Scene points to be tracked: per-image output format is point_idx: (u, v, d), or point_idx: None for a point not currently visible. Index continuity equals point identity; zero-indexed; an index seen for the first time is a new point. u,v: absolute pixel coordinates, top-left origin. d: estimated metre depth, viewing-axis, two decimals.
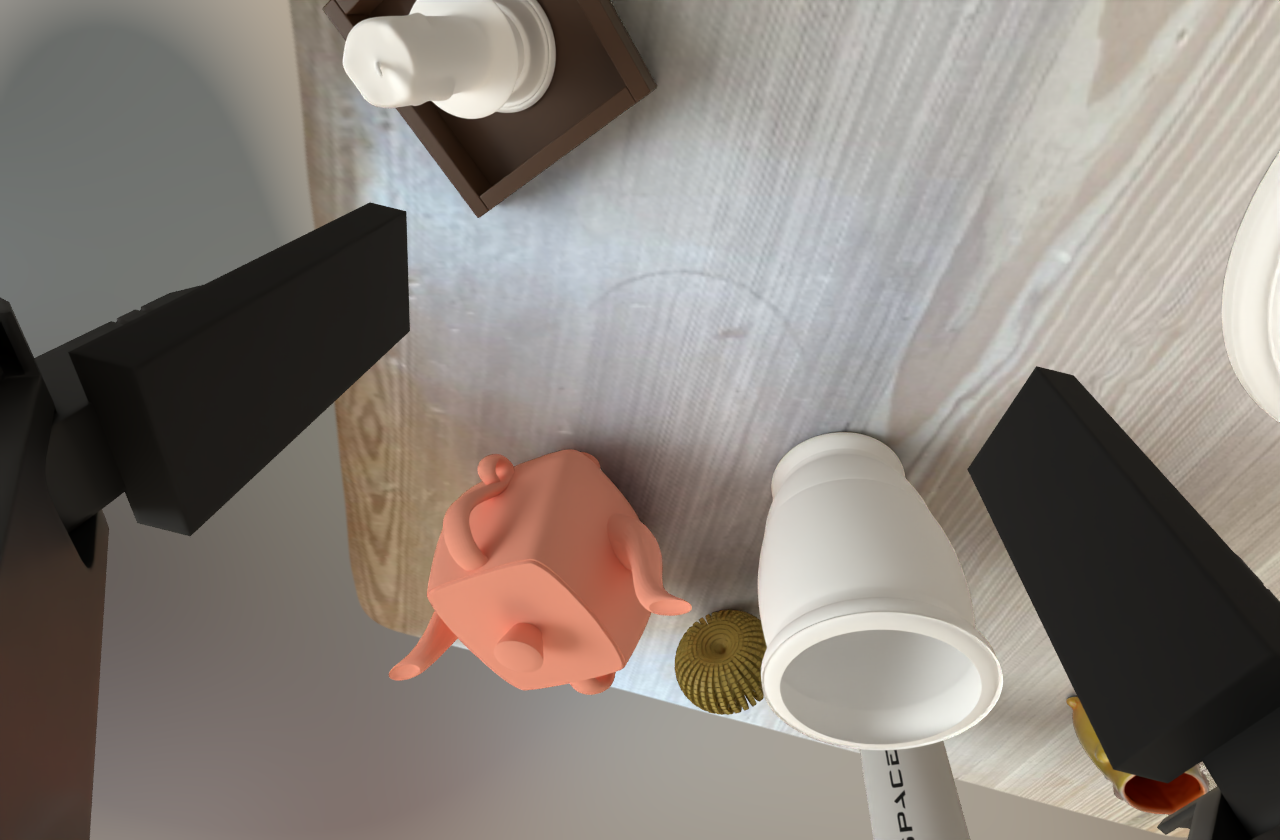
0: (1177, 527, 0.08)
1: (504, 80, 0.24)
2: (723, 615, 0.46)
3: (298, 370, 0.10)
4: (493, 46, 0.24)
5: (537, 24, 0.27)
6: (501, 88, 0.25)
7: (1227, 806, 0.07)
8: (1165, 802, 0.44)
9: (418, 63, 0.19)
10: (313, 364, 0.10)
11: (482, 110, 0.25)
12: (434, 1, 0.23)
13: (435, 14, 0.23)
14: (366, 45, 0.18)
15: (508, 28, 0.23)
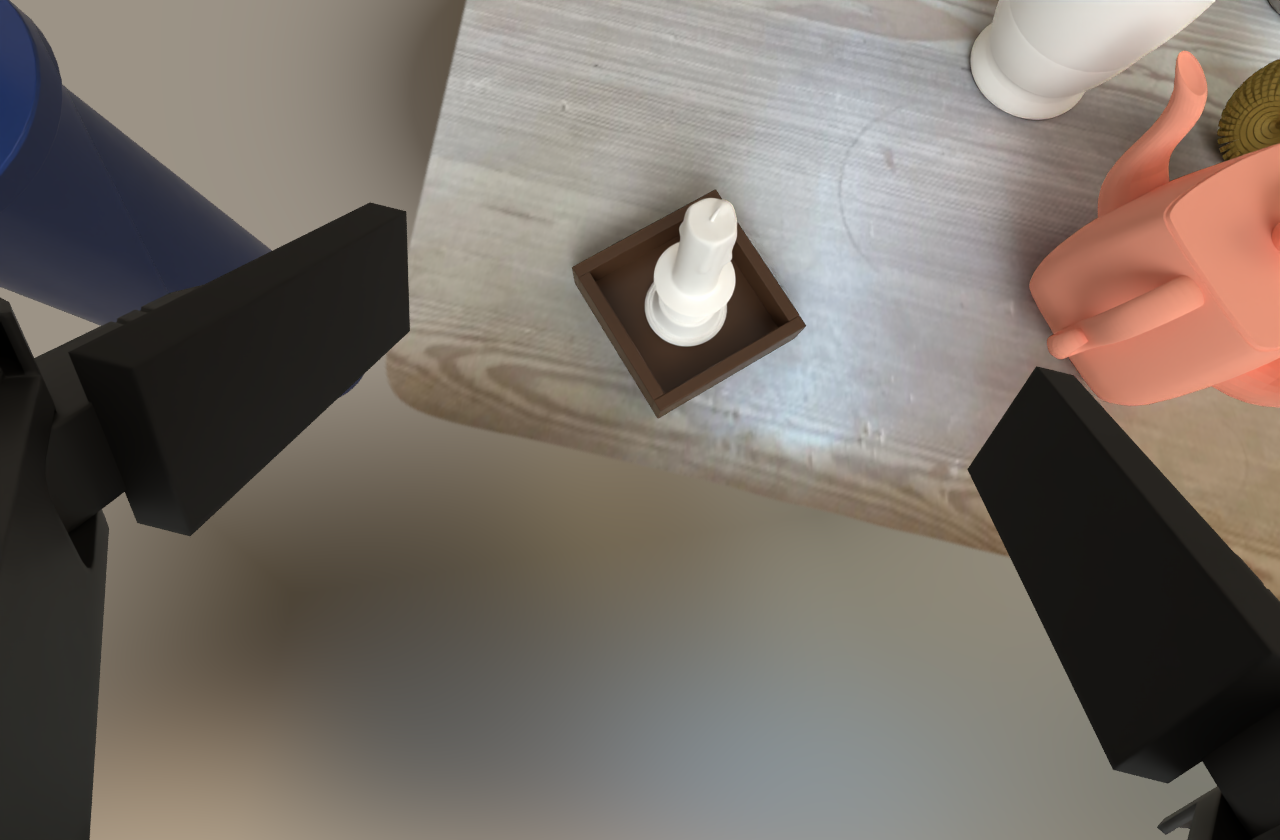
0: (1177, 527, 0.08)
1: None
2: (1227, 147, 0.41)
3: (297, 369, 0.10)
4: None
5: None
6: None
7: (1227, 806, 0.07)
8: None
9: (711, 198, 0.28)
10: (313, 364, 0.10)
11: (730, 269, 0.35)
12: (663, 288, 0.34)
13: (671, 288, 0.34)
14: (701, 225, 0.28)
15: (680, 242, 0.35)
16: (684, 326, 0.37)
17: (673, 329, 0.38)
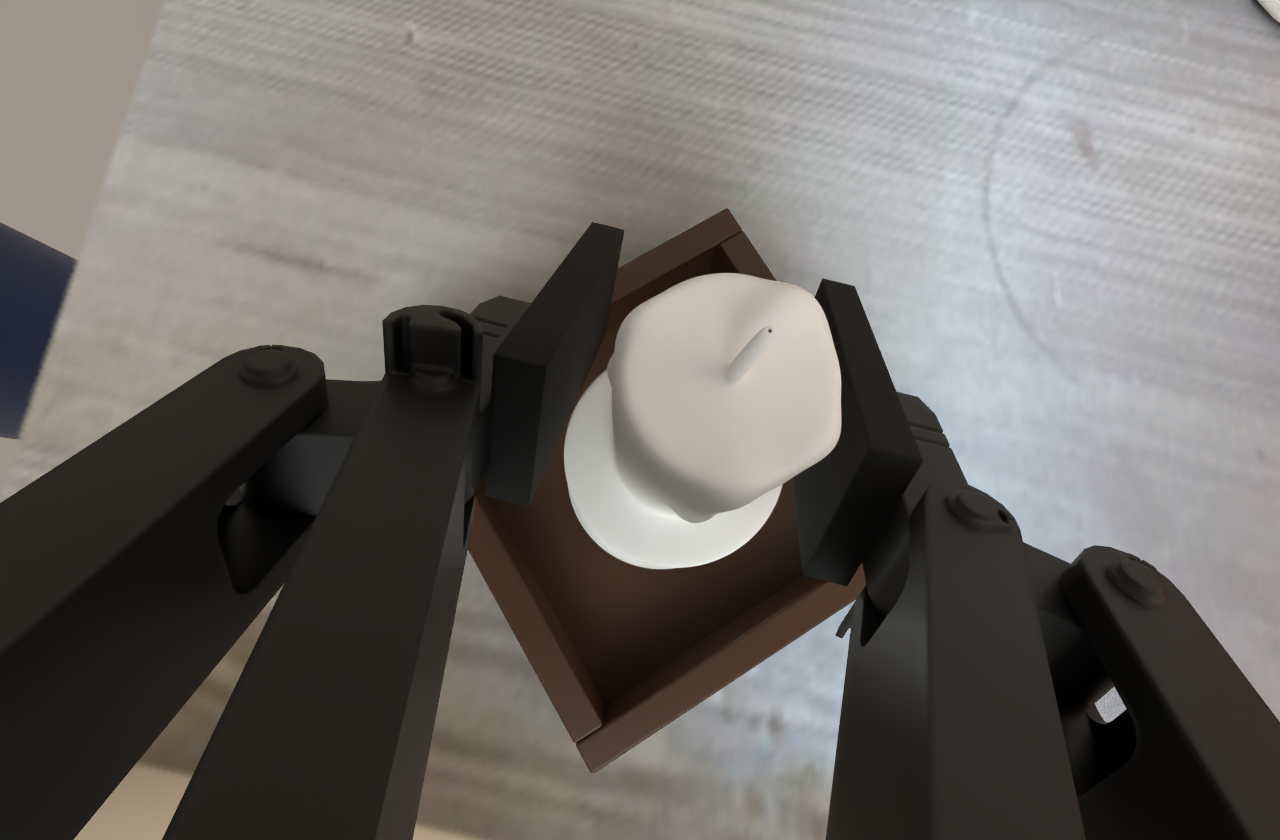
0: (859, 378, 0.10)
1: None
2: None
3: (575, 369, 0.11)
4: None
5: None
6: None
7: (869, 602, 0.09)
8: None
9: (727, 274, 0.07)
10: (579, 364, 0.12)
11: None
12: (590, 487, 0.12)
13: (611, 487, 0.12)
14: (682, 400, 0.06)
15: None
16: None
17: None
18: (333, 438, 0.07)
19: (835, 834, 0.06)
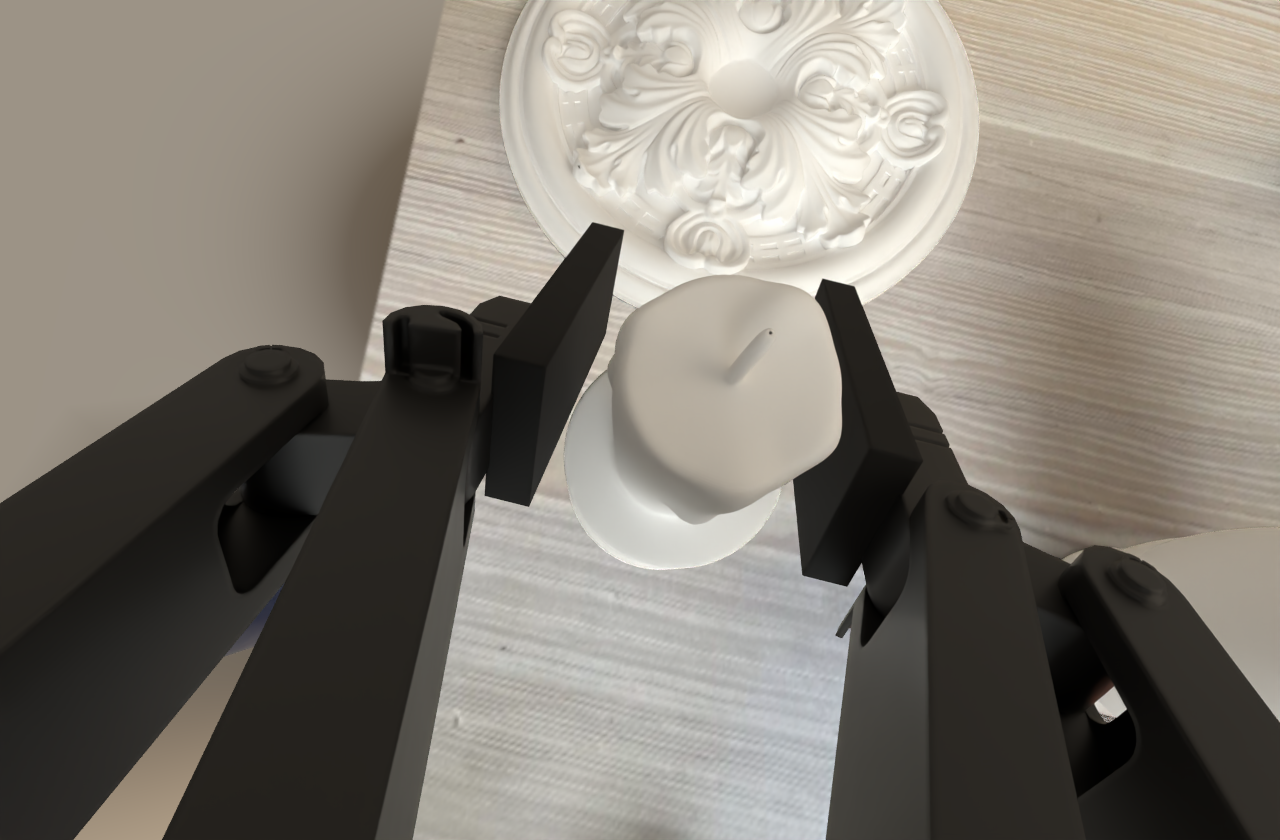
0: (859, 378, 0.10)
1: None
2: None
3: (576, 369, 0.11)
4: None
5: None
6: None
7: (869, 602, 0.09)
8: None
9: (728, 275, 0.07)
10: (579, 364, 0.12)
11: None
12: (590, 488, 0.12)
13: (611, 488, 0.12)
14: (682, 402, 0.06)
15: None
16: None
17: None
18: (333, 438, 0.07)
19: (835, 834, 0.06)
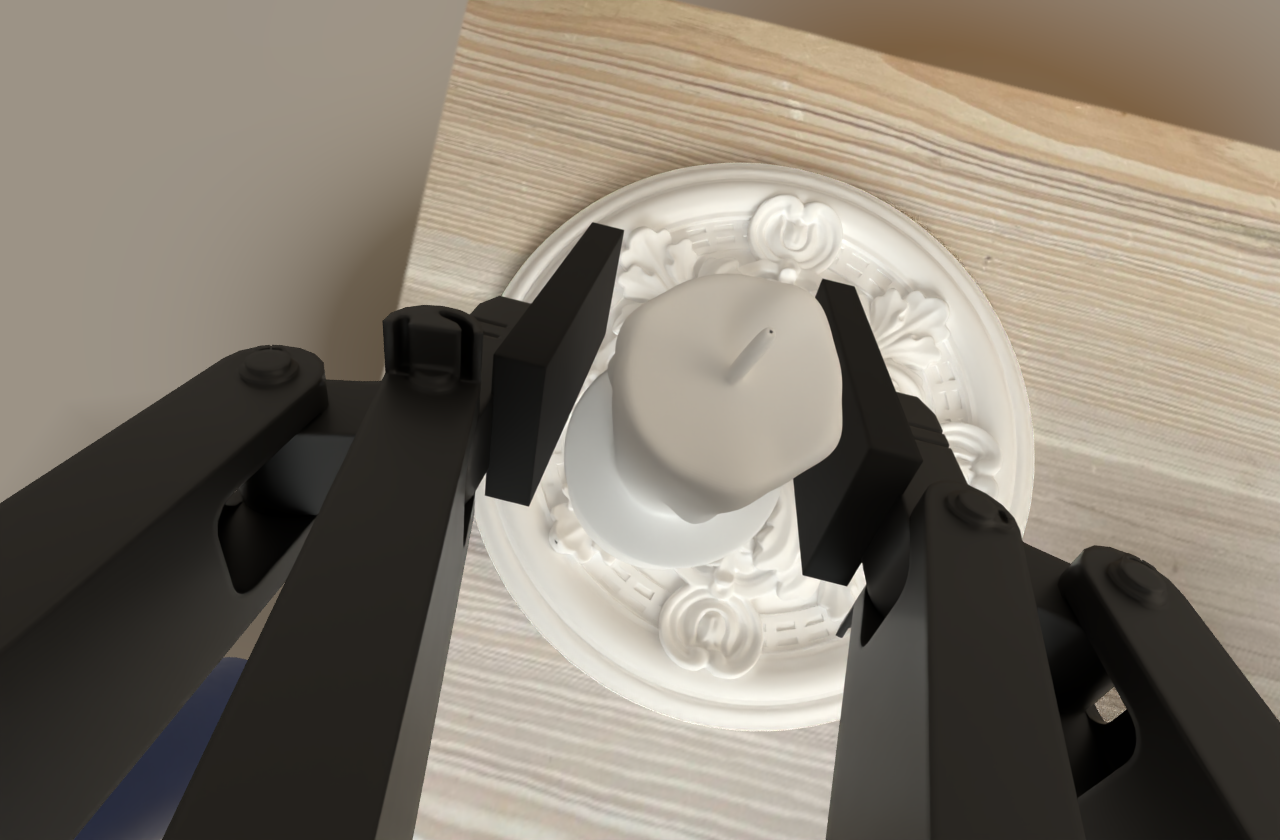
0: (859, 378, 0.10)
1: None
2: None
3: (576, 369, 0.11)
4: None
5: None
6: None
7: (869, 602, 0.09)
8: None
9: (727, 274, 0.07)
10: (579, 364, 0.12)
11: None
12: (590, 487, 0.12)
13: (611, 488, 0.12)
14: (683, 401, 0.06)
15: None
16: None
17: None
18: (333, 438, 0.07)
19: (835, 834, 0.06)
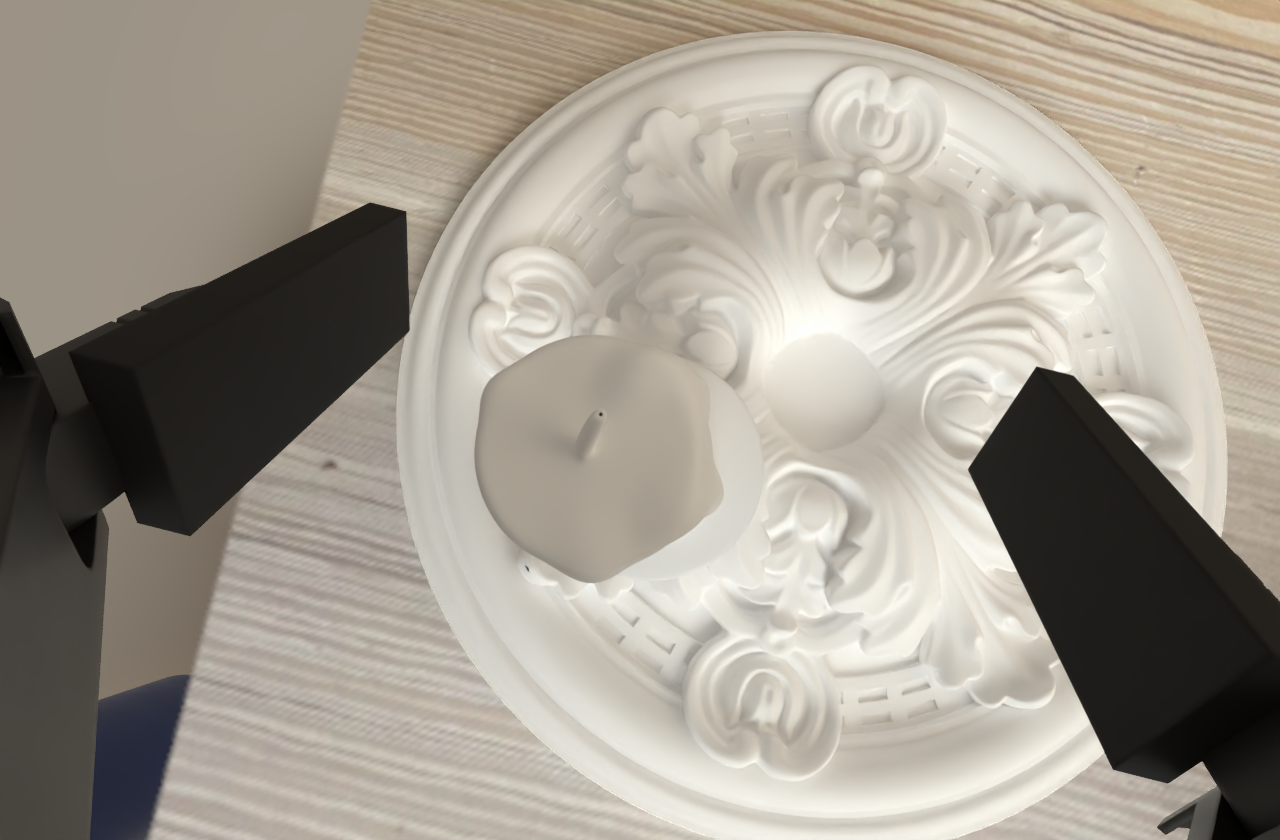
0: (1177, 527, 0.08)
1: None
2: None
3: (298, 370, 0.10)
4: None
5: None
6: (708, 392, 0.12)
7: (1227, 806, 0.07)
8: None
9: None
10: (313, 364, 0.10)
11: (748, 439, 0.12)
12: None
13: None
14: (532, 476, 0.06)
15: None
16: None
17: None
18: None
19: None
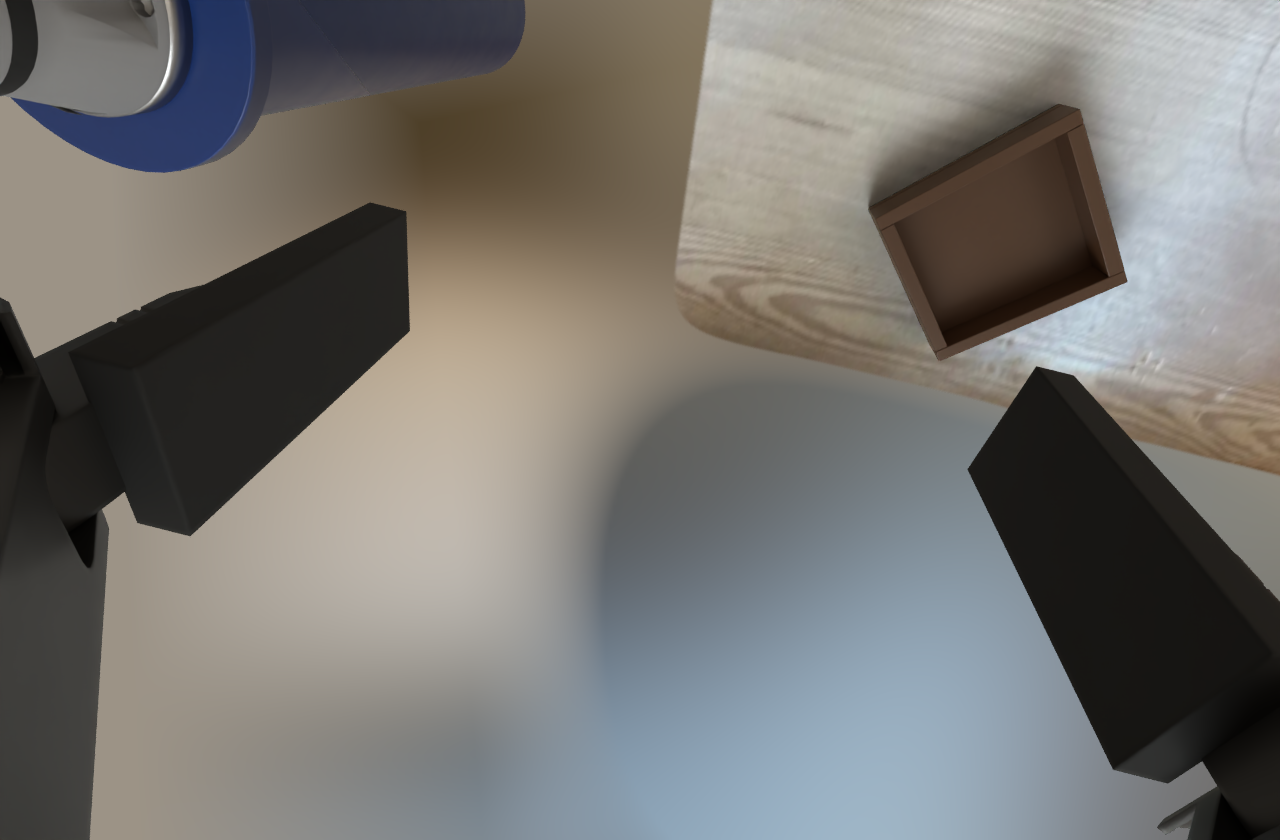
0: (1177, 527, 0.08)
1: None
2: None
3: (298, 370, 0.10)
4: None
5: None
6: None
7: (1227, 806, 0.07)
8: None
9: None
10: (313, 364, 0.10)
11: None
12: None
13: None
14: None
15: None
16: None
17: None
18: None
19: None
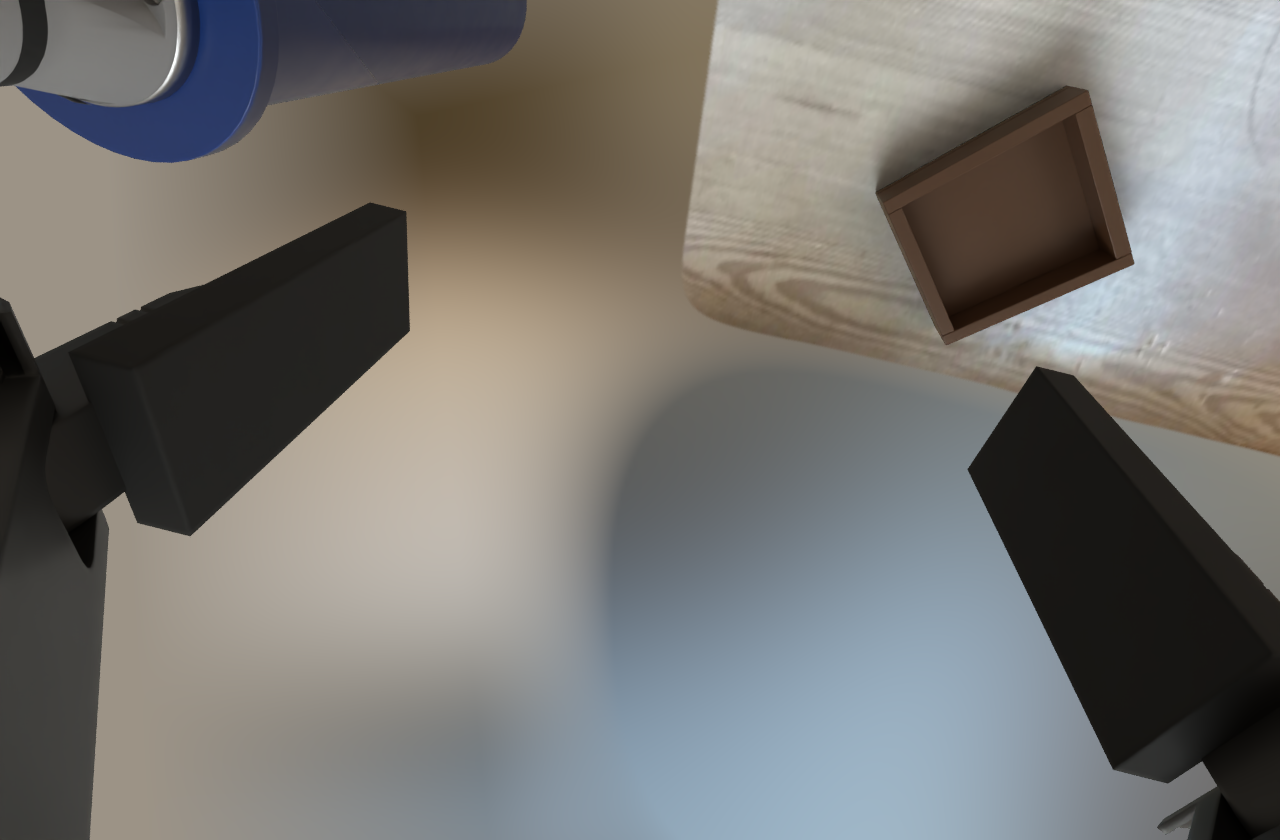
0: (1177, 527, 0.08)
1: None
2: None
3: (297, 370, 0.10)
4: None
5: None
6: None
7: (1227, 806, 0.07)
8: None
9: None
10: (313, 364, 0.10)
11: None
12: None
13: None
14: None
15: None
16: None
17: None
18: None
19: None
